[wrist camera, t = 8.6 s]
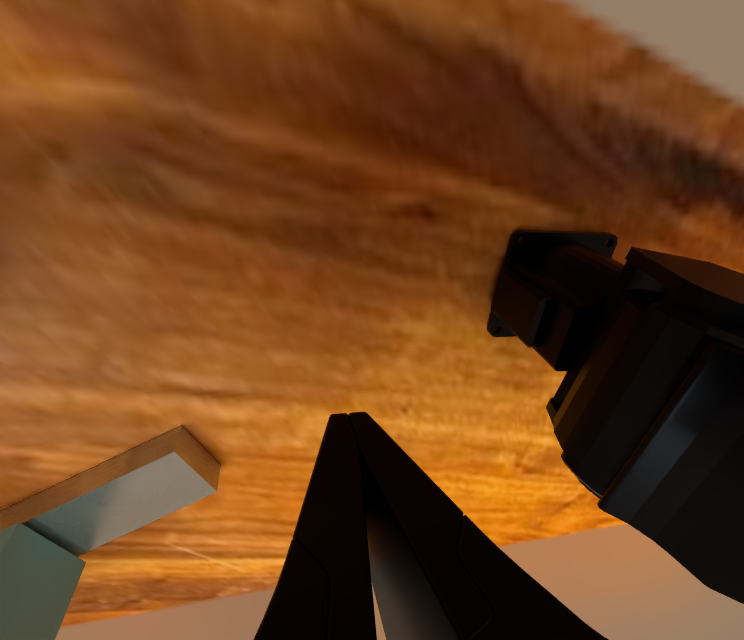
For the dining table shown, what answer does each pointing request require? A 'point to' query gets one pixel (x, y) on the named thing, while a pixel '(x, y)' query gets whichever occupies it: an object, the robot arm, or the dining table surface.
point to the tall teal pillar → (34, 584)
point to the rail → (120, 493)
